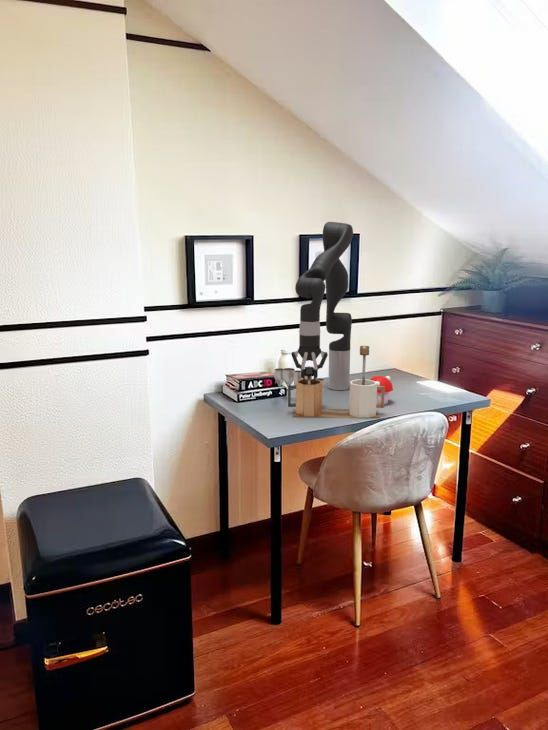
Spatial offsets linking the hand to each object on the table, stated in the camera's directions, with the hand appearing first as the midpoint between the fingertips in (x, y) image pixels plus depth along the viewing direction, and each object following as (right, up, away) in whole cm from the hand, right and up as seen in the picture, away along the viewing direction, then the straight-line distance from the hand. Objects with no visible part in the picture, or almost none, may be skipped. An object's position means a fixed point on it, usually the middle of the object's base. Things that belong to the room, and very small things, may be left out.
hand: (309, 378), depth 228 cm
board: (+10, -14, +3) cm, 18 cm away
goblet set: (-3, -11, +20) cm, 23 cm away
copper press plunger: (0, -12, +3) cm, 12 cm away
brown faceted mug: (-2, -13, +3) cm, 13 cm away
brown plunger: (+20, -4, 0) cm, 20 cm away
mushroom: (+29, -11, +18) cm, 35 cm away
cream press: (+22, -13, +2) cm, 25 cm away
